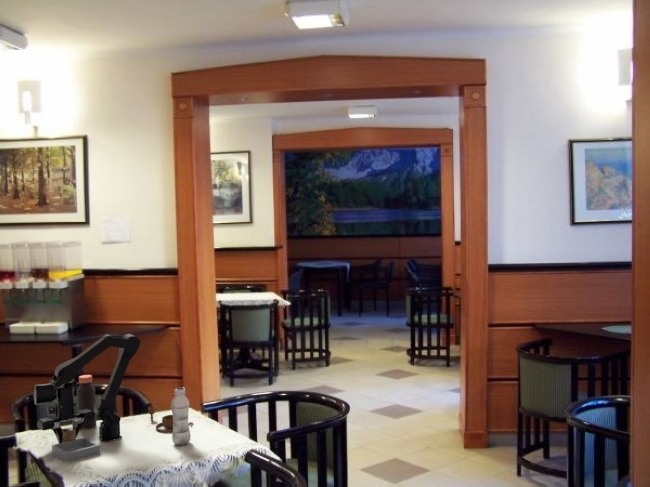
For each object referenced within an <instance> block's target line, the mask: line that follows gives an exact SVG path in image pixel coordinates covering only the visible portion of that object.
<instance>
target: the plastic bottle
mask: <svg viewBox="0 0 650 487" xmlns="http://www.w3.org/2000/svg"><path fill="white" fill-rule="evenodd" d="M174 395H175V396H174V397H173V398H172V401H171V404H170V407H171V412H172V414H171V415H173V429H172V430H173V432H172V434H171V439H172V443H173V444H174V445H176V446H183V445H187V444H189V443H190V441H191V436H192V435H191V430H190V425H189V409H190V401H189V400H190V399H188V398H187V396H186V388H185V387H176V388H174Z"/></svg>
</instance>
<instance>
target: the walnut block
mask: <svg viewBox="0 0 650 487" xmlns="http://www.w3.org/2000/svg"><path fill="white" fill-rule="evenodd" d="M76 439H77V438H76V430H75V429H73V428H72V427H70V426H69V427H65V428H62V443H64V442H68V441H72V440H76ZM57 442H58V441H57ZM57 444H59V442H58V443H57Z"/></svg>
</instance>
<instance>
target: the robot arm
mask: <svg viewBox="0 0 650 487" xmlns="http://www.w3.org/2000/svg"><path fill="white" fill-rule="evenodd" d="M141 344H142V343H141V340H140V338H139V337H138V336H135V335H133V334H131V333H127V334H124V335H117V334H115V335H113V334H104V335H103V336H101V338H99V339H98V340H97V341H96V342H94V343H93V344H92V345H90V346H89V347H88V348H86V349H85V350H84V351H82V352H81V353H80V354H78V355H77V356H75V357H74V358H71V359H68V360H66V361H65V362H62V363H60V364H59V365H57V366H56V367H55V370H54V375H53V376H52V377H51V379H50V380H49V382H48V383H43V384H40V383H39V384H35V385H34V390H33V401H34V405H42V404H50V403H53V402H54V401H55V400H56V402H55V407H54V406H53V404H51V405H47V406H46V407H45V408H46V410H45V411H46V415H47V417H44V418H43V417H42V418H39V419H38V420H37V428H38V429H40V430H42V431H49V430H51V431H52V432H53V433H54V436H55V438H56V440H57V442H59V443H58V444H60V443H62V429H63V427H61V426H60V424H64V423H67V422H71V424H72V427H71V428H73V429H75V430H76V439H78V435H79V433H80V431H81V430H82V429H81V427H82V425H83V424H85V421H84V419H85V420H86V421H88V420H92V419H95V418H94V412H95V414H96V417H98V418H99V419H100V421H101V422H99V425H100V426H99V427H98V428H99V429H98V434H99V435H98V439H99V440H101V441H103V442H106V443H107V442H111V441H115V440H119V439H122V438H123V436H122V435H121V426H120V425H121V417H120V416H119V415H118V414H117V413H116V412H115V410H116V406H117V405H116V404H117V396H118V392H119V390H120V387H121V385H122V383H123V379H124V377H125V375H126V372H127V369H128V367H129V365H130V362H131V360H132V359H133V358H134V357H135V356H136V354H137V352H138V351H139V349H140V347H141ZM109 347H112V348H113V347H114V348H118V357H117V360H116V362H115V365H114V367H113V370H112V373H111V375H110V378H109V380H108V383H107V386H106V388H105V389H104V393H103V394H102V395H101V396H99V395H97V396H96V398H95V400H96V402H95V404H94V405H93V406H94V412H93V411H91V410H88V409H85V410H80V411H77V413H75V406H77V405H76V404H77V402H75V390H74V389H75V388H77V387H78V388H79V387H80V384H79V382H77V381H76V380H75V378H76V377H77V376H78V374H79V373H80V372H81V370H82V369H83V368H84V367H85V366H86V365H87V364H89V363H90V362H92V361H93V360H94V359H95V358H97V357H98V356H99V355H101V354H102V353H103V352H105V351H106V350H107V349H108V348H109ZM48 416H51V417H48ZM52 418H53V419H52Z"/></svg>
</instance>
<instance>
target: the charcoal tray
mask: <svg viewBox="0 0 650 487" xmlns="http://www.w3.org/2000/svg"><path fill="white" fill-rule="evenodd" d="M51 454H52V455H53V456H55V457H56V458H58V459H60V460H62V462H65V463H66V464H67V463H70V462H74V461H77V460H81V459H86V458H89V457H92V456H96V455H100V454H101V445H100V444H99V443H97V442H95V441H94V440H91V439H90V438H87V437H86V436H85V437H81V438H76V440H72V441H68V442H64V443H60V444H59V443H56V444H52V445H51Z"/></svg>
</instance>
